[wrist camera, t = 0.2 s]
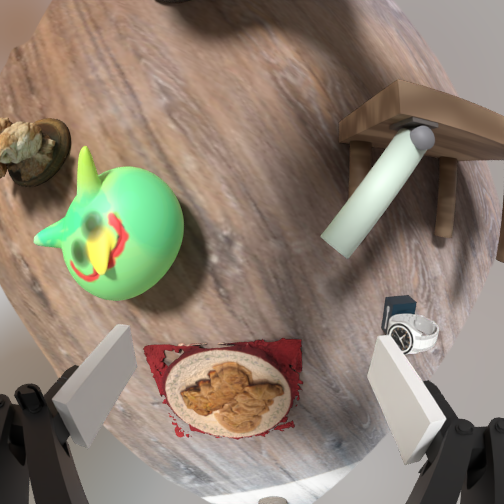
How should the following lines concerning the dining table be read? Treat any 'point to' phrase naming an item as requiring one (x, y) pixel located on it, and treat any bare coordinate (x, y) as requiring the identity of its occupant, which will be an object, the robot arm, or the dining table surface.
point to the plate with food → (230, 385)
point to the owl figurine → (32, 149)
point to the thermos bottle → (272, 500)
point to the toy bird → (117, 230)
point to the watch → (408, 325)
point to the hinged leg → (378, 189)
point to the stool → (445, 132)
